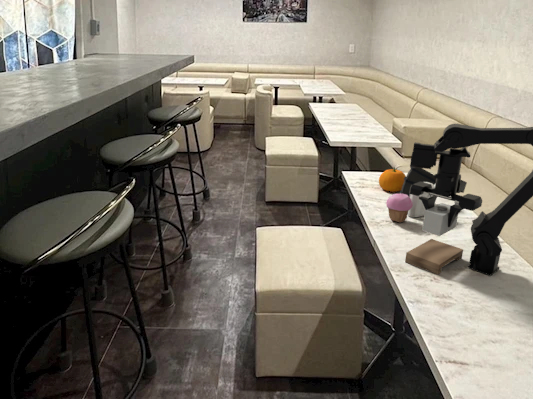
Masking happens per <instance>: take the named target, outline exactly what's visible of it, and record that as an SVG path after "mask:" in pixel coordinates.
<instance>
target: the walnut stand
mask: <svg viewBox="0 0 533 399" xmlns="http://www.w3.org/2000/svg"><path fill="white" fill-rule="evenodd" d="M463 254H464V249H463V248H460V247H457V246H454V245H451V244H447V243H446V242H441V241H440V240H437V239H433V238H431V239H429V240H426V241H425V242H424V243H421V244H419V245H418V246H416V247H415V248H412V249H411V250H408V251H407V252H406V253H405V263H407V264H409V265H412V266H415V267H417V268H420V269H422V270H425V271H427V272H430V273H432V274H436V275H439V274H441V273H442V270H443V267H445V266H447V265H448V264H450V263H452V262H453V261H454V260H455V261H458V262H459V261H461V260H462V258H463Z"/></svg>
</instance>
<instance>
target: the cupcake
mask: <svg viewBox="0 0 533 399" xmlns="http://www.w3.org/2000/svg"><path fill="white" fill-rule="evenodd" d="M385 203H386V208H387V210H388V216H389V219H390V220H391V221H392V222H393V221H394V222H397V223H403V222H405V221H406V220H407V218H408V210H410V209H411V208H412V206H413V202H412V200H411V198H409V196H408V195H406V194H400V193H393V194H392V195H389V196H388V198H387V199H386V202H385Z"/></svg>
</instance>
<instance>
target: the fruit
mask: <svg viewBox="0 0 533 399" xmlns="http://www.w3.org/2000/svg"><path fill="white" fill-rule="evenodd" d="M406 176H407V175H405V173H404V172H403V171H402V170H399V169H396V168H395V166H393V169H392V168H390V169H385V170H384V171H383V172H382V173H381V174H380V175H379V176H378V177H379V178H378V184H379V187H380V188H381V189H382V190H384V191H386V192H389V191H390V193H398V192H399V193H400V190H402V186H403V183H404V177H406Z"/></svg>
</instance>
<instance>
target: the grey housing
mask: <svg viewBox="0 0 533 399" xmlns="http://www.w3.org/2000/svg"><path fill="white" fill-rule="evenodd" d="M450 206H452V205H450V204H446V203H445V202H444V203H443V202H441V203H438V204H436V205H435V206H434V207H432V208H430V209H428V210H425V215H424V216H423V222H422V229H421V230H422V232H426V233H429V234H431V235H435V236H437V237H441V236H443V235H444V234H446V233H448V232H450V231H451V230H454V229H455V228H457V224H458V217H459V214H458V215H457V217H456V219H455V220H454V222H453V224H452V225H451V227H448V218H449V212H450Z"/></svg>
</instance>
